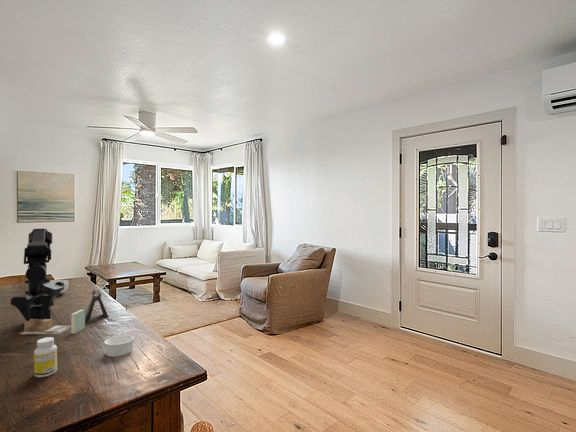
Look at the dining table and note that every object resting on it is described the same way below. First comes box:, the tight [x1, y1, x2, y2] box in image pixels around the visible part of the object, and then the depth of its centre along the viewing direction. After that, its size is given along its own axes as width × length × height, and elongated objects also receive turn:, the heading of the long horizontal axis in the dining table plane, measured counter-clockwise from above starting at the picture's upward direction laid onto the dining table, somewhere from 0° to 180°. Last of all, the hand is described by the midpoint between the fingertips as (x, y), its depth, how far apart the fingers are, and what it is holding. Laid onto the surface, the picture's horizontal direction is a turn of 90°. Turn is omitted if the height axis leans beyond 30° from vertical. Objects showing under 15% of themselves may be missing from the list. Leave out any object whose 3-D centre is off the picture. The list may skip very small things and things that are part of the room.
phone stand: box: [85, 289, 109, 322], centre depth 143 cm, size 9×6×12 cm, turn 123°
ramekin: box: [104, 334, 135, 358], centre depth 109 cm, size 9×9×4 cm
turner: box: [23, 318, 71, 334], centre depth 126 cm, size 15×6×4 cm, turn 91°
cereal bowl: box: [50, 279, 70, 294], centre depth 181 cm, size 17×17×7 cm
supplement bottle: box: [33, 336, 58, 378], centre depth 94 cm, size 5×5×10 cm
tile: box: [70, 309, 86, 335], centre depth 126 cm, size 2×6×8 cm, turn 1°
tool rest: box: [19, 331, 64, 335], centre depth 126 cm, size 15×7×1 cm, turn 91°
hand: (37, 316), depth 126 cm, fingers open, 9 cm apart
